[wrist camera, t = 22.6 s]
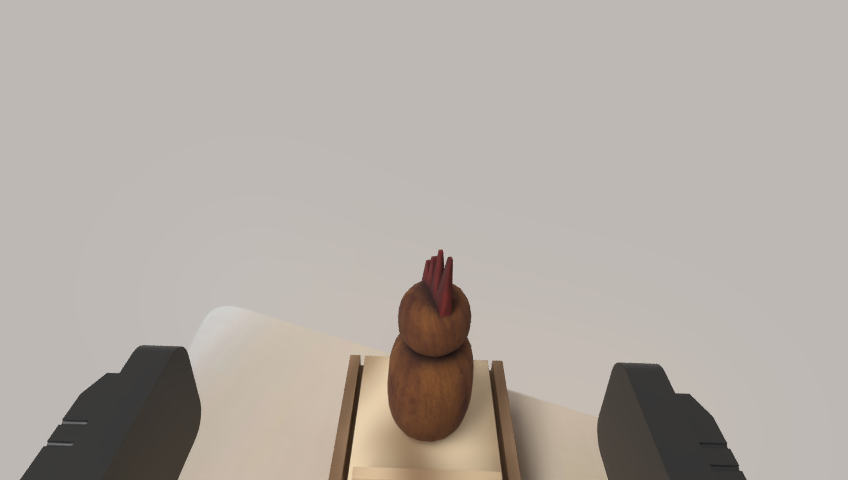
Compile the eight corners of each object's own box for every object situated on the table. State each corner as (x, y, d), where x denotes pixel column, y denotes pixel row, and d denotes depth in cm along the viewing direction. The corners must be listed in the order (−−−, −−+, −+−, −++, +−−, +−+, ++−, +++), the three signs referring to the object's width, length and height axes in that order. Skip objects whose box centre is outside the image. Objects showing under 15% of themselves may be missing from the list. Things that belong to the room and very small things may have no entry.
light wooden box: (492, 424, 50) (502, 360, 46) (510, 575, 39) (525, 508, 35) (352, 419, 50) (350, 355, 46) (330, 569, 38) (324, 501, 34)
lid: (486, 367, 46) (490, 338, 44) (504, 516, 35) (511, 484, 33) (365, 363, 46) (364, 333, 44) (344, 510, 35) (343, 477, 33)
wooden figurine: (467, 462, 37) (491, 277, 30) (381, 453, 38) (382, 269, 30) (468, 387, 43) (488, 216, 35) (393, 380, 43) (397, 209, 36)
